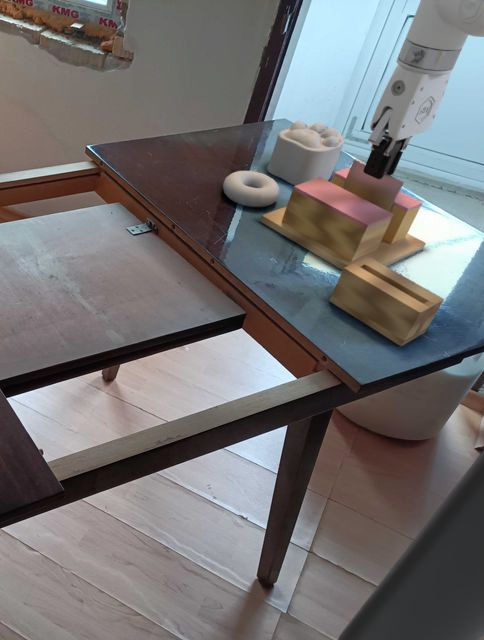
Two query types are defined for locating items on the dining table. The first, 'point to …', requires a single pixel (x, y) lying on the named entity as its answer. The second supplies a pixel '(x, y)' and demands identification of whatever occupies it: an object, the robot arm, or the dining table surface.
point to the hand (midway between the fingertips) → (378, 172)
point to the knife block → (385, 300)
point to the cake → (338, 225)
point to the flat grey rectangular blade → (374, 183)
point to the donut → (251, 188)
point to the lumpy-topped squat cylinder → (305, 152)
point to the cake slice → (402, 211)
